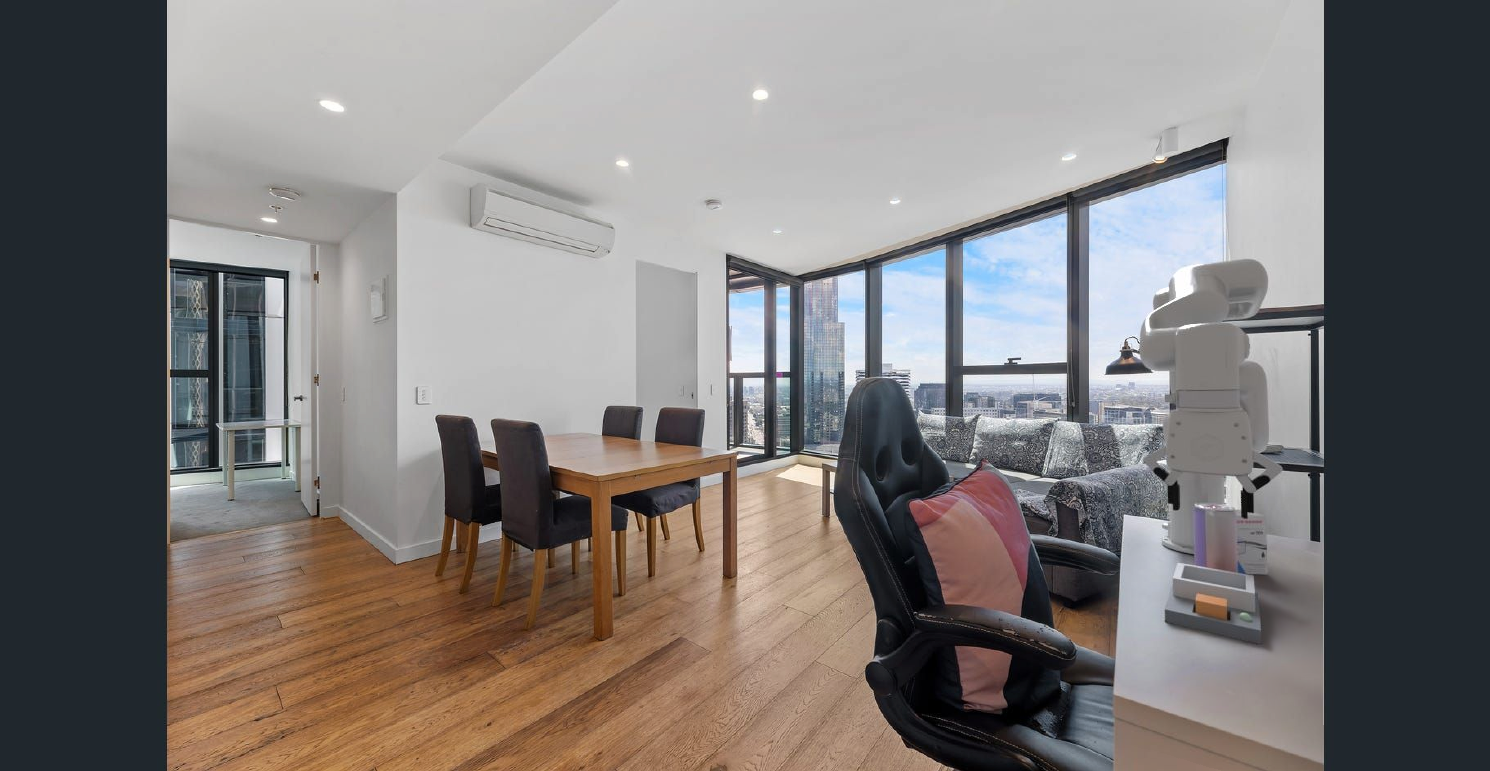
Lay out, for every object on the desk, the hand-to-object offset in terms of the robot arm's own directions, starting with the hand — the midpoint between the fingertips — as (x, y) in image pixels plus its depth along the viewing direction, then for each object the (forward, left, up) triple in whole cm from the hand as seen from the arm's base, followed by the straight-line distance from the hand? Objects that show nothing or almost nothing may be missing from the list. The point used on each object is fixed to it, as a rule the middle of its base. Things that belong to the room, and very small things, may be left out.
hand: (1209, 512), depth 82 cm
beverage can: (-16, +13, -18) cm, 27 cm away
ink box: (-24, +23, -18) cm, 38 cm away
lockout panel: (-4, +4, -18) cm, 19 cm away
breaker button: (0, 0, -17) cm, 17 cm away
